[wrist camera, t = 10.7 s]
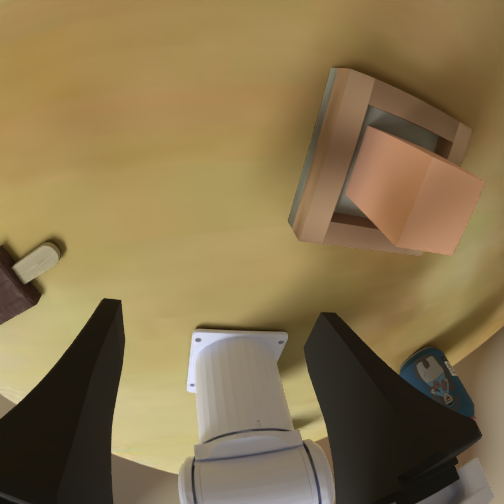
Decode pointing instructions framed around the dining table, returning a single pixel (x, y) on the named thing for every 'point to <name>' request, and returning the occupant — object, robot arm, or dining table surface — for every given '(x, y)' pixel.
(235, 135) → the dining table surface
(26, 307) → the ice cream bar
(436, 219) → the terracotta block
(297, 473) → the robot arm
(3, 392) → the dining table surface
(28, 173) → the dining table surface
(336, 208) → the walnut base
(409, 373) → the soda can
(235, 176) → the dining table surface
